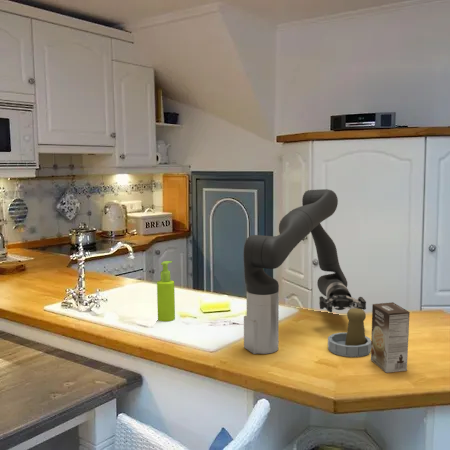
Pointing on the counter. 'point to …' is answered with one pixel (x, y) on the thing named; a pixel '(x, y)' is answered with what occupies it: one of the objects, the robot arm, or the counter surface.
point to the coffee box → (390, 337)
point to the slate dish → (339, 348)
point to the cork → (355, 327)
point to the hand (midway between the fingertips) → (345, 309)
